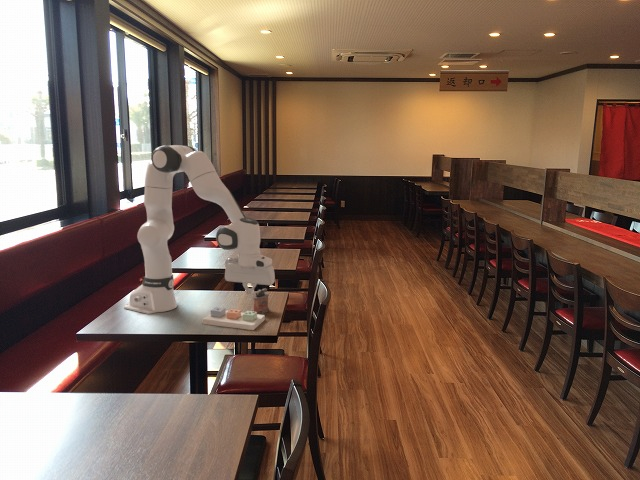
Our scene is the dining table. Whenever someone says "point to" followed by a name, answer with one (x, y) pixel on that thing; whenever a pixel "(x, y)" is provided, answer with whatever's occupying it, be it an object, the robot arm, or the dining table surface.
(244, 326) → the panel
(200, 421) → the dining table surface
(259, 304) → the lighter
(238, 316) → the button terracotta
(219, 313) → the button slate
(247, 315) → the button sage
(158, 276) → the robot arm
